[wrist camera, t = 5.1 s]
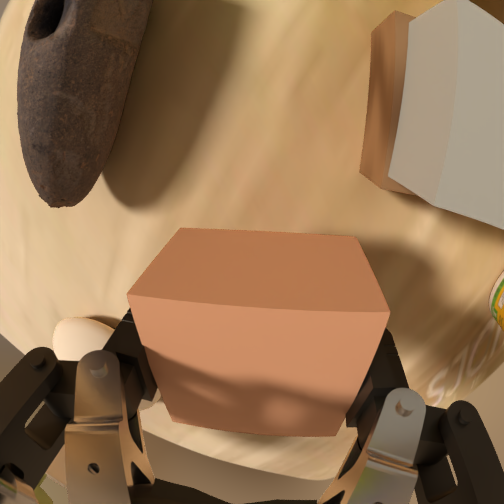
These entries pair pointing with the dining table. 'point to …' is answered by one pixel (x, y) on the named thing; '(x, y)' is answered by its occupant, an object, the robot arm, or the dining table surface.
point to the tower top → (454, 112)
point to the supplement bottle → (498, 301)
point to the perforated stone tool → (75, 90)
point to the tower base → (385, 99)
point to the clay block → (259, 329)
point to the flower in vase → (73, 349)
